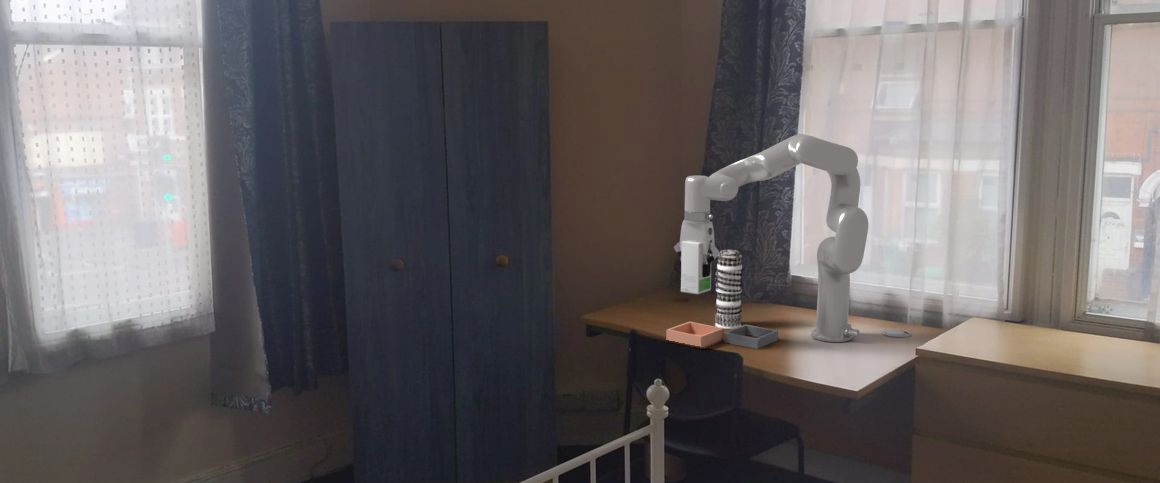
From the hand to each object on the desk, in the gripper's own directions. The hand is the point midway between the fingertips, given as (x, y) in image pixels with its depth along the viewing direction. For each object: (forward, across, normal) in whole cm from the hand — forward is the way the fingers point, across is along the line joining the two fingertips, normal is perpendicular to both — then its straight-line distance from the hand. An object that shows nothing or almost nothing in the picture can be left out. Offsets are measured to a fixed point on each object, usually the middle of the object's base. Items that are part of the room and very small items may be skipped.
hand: (695, 274), depth 281 cm
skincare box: (+5, 0, 0) cm, 5 cm away
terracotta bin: (+21, 0, 0) cm, 21 cm away
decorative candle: (+21, +2, -23) cm, 31 cm away
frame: (+21, -13, -12) cm, 27 cm away
